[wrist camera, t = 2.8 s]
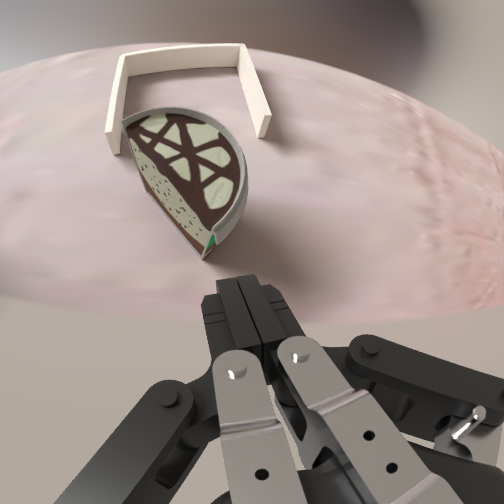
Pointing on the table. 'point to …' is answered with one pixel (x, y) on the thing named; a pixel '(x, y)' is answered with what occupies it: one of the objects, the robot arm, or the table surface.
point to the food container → (190, 171)
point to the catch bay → (186, 60)
